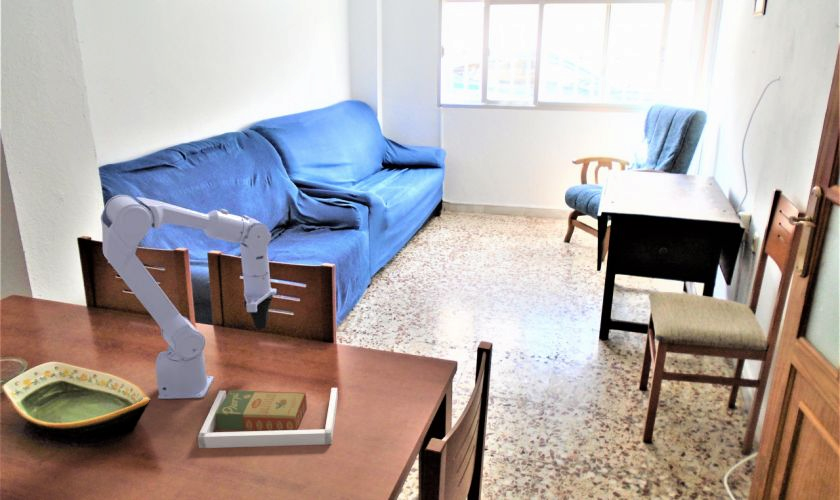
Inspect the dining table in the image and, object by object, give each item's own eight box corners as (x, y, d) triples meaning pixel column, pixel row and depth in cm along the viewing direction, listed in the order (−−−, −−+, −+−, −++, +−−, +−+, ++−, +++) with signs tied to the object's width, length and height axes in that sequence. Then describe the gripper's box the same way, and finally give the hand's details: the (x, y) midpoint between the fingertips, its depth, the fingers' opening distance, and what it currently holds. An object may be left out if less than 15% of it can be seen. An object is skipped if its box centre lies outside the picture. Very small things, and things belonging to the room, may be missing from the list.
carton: (297, 434, 113) (295, 416, 112) (215, 431, 114) (213, 412, 112) (307, 408, 121) (306, 391, 119) (231, 405, 122) (229, 388, 120)
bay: (199, 448, 108) (197, 437, 108) (220, 400, 123) (219, 390, 122) (331, 444, 110) (330, 433, 109) (337, 397, 124) (337, 387, 123)
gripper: (268, 284, 123) (273, 342, 127) (280, 260, 136) (284, 313, 141) (234, 285, 122) (240, 342, 127) (249, 260, 136) (254, 313, 141)
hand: (261, 327), depth 134 cm, fingers closed
